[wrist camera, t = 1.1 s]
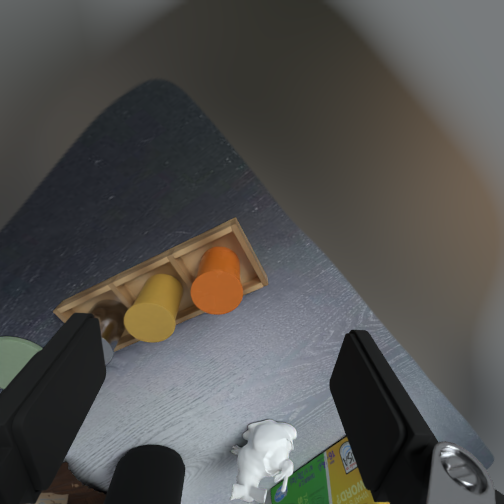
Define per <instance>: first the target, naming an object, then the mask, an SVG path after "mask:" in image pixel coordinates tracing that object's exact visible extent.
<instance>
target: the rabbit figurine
mask: <svg viewBox="0 0 504 504" xmlns="http://www.w3.org/2000/svg"><path fill="white" fill-rule="evenodd" d="M242 436H243V438H244V439H245V440H248V443H247V444H246V445H245V446H243V448H242V447H239V446H237V445H236V444H235V445H236V447H234V446H232V447H233V448H234V449H233V450H231V451H230V452H233V453H232V454H234V453H235V454H234V455H237V454H238V458H237V467H238V476H237V484H235V483H234V484H233V485H232V495H231V497H230V500H233V499H238V498H240V499H241V500H243V501H246V502H252V501H253V500H256V501H257V502H259V503H263V504H265V499H266V494H267V489H264V488H258V485H259V481H260V480H261V479H262V478H265V477H273V476H275V475H277V474H278V473H279V471H282V472H281V473H280V474H278V475H277V476H276V477H275V478H274V482H275V483H277V482H278V481H280V480H281V479H282V478H283V477H284V481H283V485H282V488H281V491H282V492H285V490H286V486H287V481H288V477H289V476H291V475H292V474H293V462H292V461H291V460H290V459H289V453H290V451H291V450H293V439H296V437H297V432H296V429H295V428H294V427H293V426H292V425H290V424H288V423H284V422H275V421H274V420H271V419H269V420H265V421H261V422H257V423H252V424H250V425H248V430H247V431H246V432H244V433H243V435H242Z"/></svg>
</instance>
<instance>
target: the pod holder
mask: <svg viewBox="0 0 504 504" xmlns="http://www.w3.org/2000/svg"><path fill="white" fill-rule="evenodd" d="M213 247H226V248H229V249H231V250H232V251H234V252H235V253H236V254H237V256H238V258H239V261H240V282H241V284H242V287H243V295H246V294H248V293H250V292H253V291H255V290H257V289H259V288H262V287H263V286H266V285H268V279H267V275H266V273H265V271H264V269H263V267H262V266H261V264H260V262H259V260H258V258H257V256H256V254H255V253H254V251H253V249H252V247H251V245H250V243H249V241H248V239H247V238H246V236H245V234H244V232H243V230H242V228H241V226H240V224H239V223H238V221H237V219H236V218H233V219H231V220H229V221H227V222H225V223H223V224H221V225H219V226H217V227H215V228H213V229H210V230H208V231H206V232H204V233H202V234H200V235H198V236H196V237H194V238H192V239H190V240H188V241H186V242H184V243H182V244H179V245H177V246H175V247H173V248H171V249H169V250H167V251H165V252H163V253H161V254H159V255H157V256H155V257H153V258H151V259H148V260H146V261H144V262H142V263H140V264H138V265H136V266H134V267H132V268H130V269H128V270H126V271H124V272H122V273H119V274H117V275H115V276H113V277H111V278H109V279H107V280H105V281H103V282H101V283H99V284H97V285H95V286H93V287H91V288H88V289H86V290H84V291H82V292H80V293H78V294H76V295H74V296H72V297H70V298H68V299H66V300H64V301H62V302H61V303H60V304H59V305H58V306H57V307H56V308H55V310H54V311H53V312H54V313H55V314H56V315H57V316H58V317H59V318H60V319H61V320H62V321H63V322H64V323H65V322H66V321H67V320H68V319H69V318H70V316H71V315H72V314H73V313H88V312H89V311H90V309H91V308H92V307H93V306H94V304H95V303H97V302H98V301H101V300H106V299H110V300H115V301H118V302H120V303H122V304H123V305H124V306H126V307H127V309H129V308H130V307H131V306H132V305H133V304H134V302H135V300H136V298H137V297H138V295H139V293H140V291H141V290H142V288H143V286H144V284H145V283H146V281H147V280H148V279H149V278H150V277H151V276H154V275H157V274H167V275H171V276H173V277H175V278H176V279H177V280H178V281H179V282H180V283H181V285H182V287H183V296H182V299H181V303H180V306H179V309H178V312H177V316H176V319H175V320H176V325H177V324H179V323H182V322H184V321H186V320H188V319H191V318H193V317H195V316H198V315H200V314H202V313H204V311H202V310H201V309H199V308H198V307H197V306H196V305H195V304H194V302H193V300H192V298H191V286H192V283H193V281H194V280H195V279H196V276H197V272H198V268H199V264H200V260H201V257H202V256H203V254H204V253H205V252H206V251H207V250H209V249H211V248H213ZM138 341H140V340H139V339H137V338H135V337H133V336H132V335H131V334H130V333H129V332H128V331H127V329H125V330H124V332H123V334H122V336H121V338H120V340H119V342H118V344H117V345H116V347H115V349H114V352H115V351H117V350H120V349H122V348H124V347H126V346H129V345H131V344H133V343H136V342H138Z"/></svg>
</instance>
